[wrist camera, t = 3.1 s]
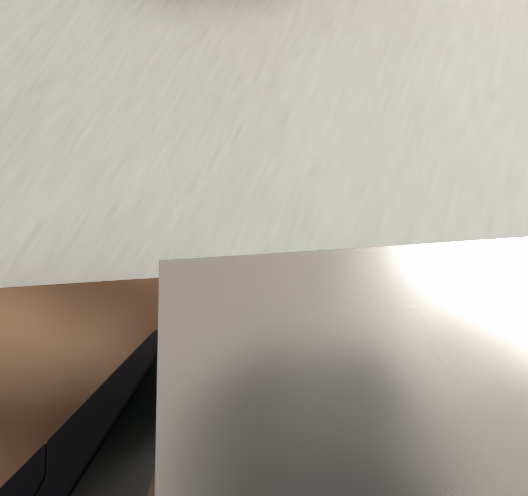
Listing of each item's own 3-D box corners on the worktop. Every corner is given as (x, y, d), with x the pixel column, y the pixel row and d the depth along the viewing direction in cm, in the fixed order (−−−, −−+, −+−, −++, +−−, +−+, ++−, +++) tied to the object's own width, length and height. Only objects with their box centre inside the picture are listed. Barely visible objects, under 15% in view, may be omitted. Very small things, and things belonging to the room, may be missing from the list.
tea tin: (361, 407, 14) (753, 824, 3) (250, 413, 14) (148, 836, 3) (348, 296, 15) (577, 234, 4) (246, 302, 16) (159, 260, 4)
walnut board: (183, 596, 13) (172, 630, 12) (-126, 610, 14) (-173, 645, 12) (183, 280, 16) (174, 276, 15) (-69, 296, 17) (-102, 294, 15)
